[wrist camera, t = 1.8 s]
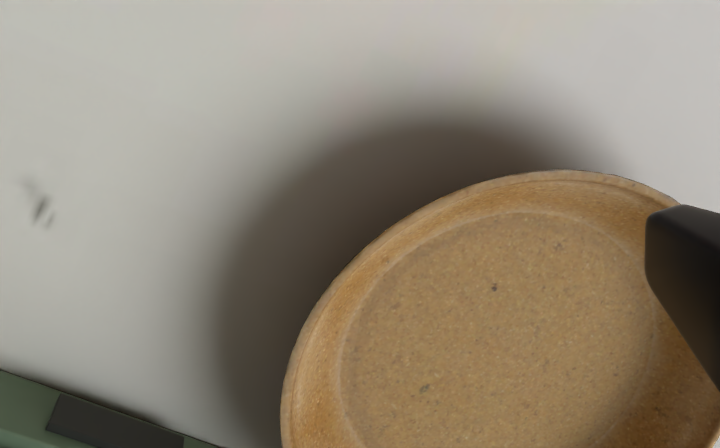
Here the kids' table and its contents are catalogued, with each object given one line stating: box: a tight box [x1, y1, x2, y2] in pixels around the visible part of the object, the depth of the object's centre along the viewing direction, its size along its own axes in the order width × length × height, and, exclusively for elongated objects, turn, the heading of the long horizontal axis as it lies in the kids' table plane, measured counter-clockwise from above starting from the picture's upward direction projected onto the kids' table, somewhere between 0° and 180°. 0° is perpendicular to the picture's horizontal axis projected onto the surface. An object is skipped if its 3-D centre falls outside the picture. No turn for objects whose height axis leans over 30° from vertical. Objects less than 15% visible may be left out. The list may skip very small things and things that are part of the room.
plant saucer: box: [280, 169, 720, 448], centre depth 22 cm, size 15×15×3 cm
